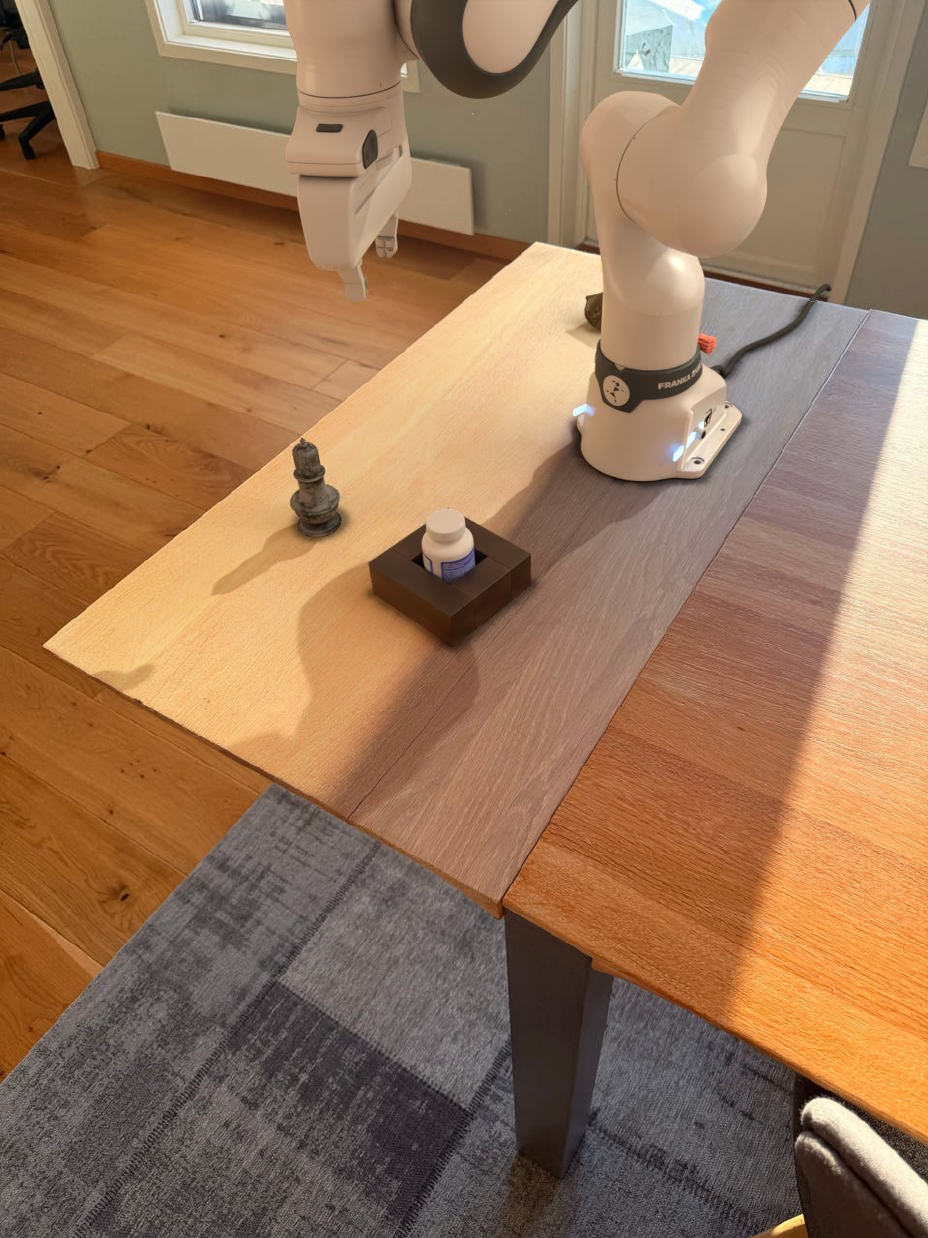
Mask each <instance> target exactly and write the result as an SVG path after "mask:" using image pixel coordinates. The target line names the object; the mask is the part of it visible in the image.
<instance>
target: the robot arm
mask: <svg viewBox="0 0 928 1238" xmlns="http://www.w3.org/2000/svg"><path fill="white" fill-rule="evenodd" d="M871 1H872V0H721V1H720V2H719V4H718V6H716V8H715V9H714V11H713V12H712V14H711V15H710V17H709V19H708V21H707V23H706V26H705V30H704V47H705V48H704V49H705V51H704V52H705V53H704V56H703V60H702V63H701V66H700V69H699V71H698V74H697V76H696V79H695V82H694V83H693V85H692V86H691V87H692V88H691V89H690V92H689V93H688V95H687V97H686V99H685V100H684V102H682V104H681V105H679V104H677V102H674V101H672V100H671V99H669V98H667V97H666V96H663V95H662V94H659V93H655V92H646V91H638V90H623V91H618V92H615V93H613V94H611V95H608V96H606V97H605V98H604V99H602V100H601V101H600V102H599V103H598V104H597V105H596V106H595V107H594V108H593V109H592V111H591V113H589V115H588V117H587V119H586V120H585V123H584V125H583V128H582V130H581V134H580V139H579V155H580V161H581V165H582V167H583V170H584V172H585V175H586V179H587V181H588V185H589V188H590V193H591V199H592V206H593V212H594V220H595V227H596V234H597V240H598V248H599V255H600V263H601V271H602V292H603V303H602V323H601V329H600V338H599V340H598V341H597V344H596V349H595V353H594V362H593V363H594V371H593V372H591V374H590V375H589V378H588V385H587V392H586V398H585V404H583V405H580V406H578V407H576V408H574V409H573V410H572V411H573V413H572V415H573V416H574V417H576V416H578V417H577V421H576V428H577V429H578V431H579V433H580V435H581V439H580V450H581V451H580V452H581V454H582V456H583V458H584V459H585V460H586V462H587V463H588V464H589V465H590V466H592V467H593V468H594V469H596V470H597V471H599V472H601V473H603V474H605V475H607V476H610V477H614V478H616V479H620V480H621V479H622V480H626V481H634V482H652V481H653V482H654V481H659V480H666V479H672V478H674V479H675V478H676V479H678V478H679V479H699V478H701V477H702V476H703V475H704V474H705V472H706V471H707V470H708V469H709V467H710V465H711V464H712V463H713V462H714V460H715V459H716V458H717V456H718V454H719V453H720V452H721V451H722V449H723V448H724V446H725V445H726V443H727V442H728V441H729V439H730V438H731V437H732V435H733V434H734V432H736V430H737V428H738V427H739V426H740V424H741V422H742V418H743V417H742V416H743V414H742V412H741V411H740V410H739V409H738V408H737V407H736V406H735V405H734V404H732V403H731V402H730V401H728V400H727V393H728V386H727V383H726V380H725V379H724V377H727V376H729V375H730V373H731V372H732V371H733V369H734V368H735V366H736V365H737V363H738V362H739V360H740V359H741V358H742V357H743V356H744V355H746V354H747V353H749V352H751V351H753V350H755V349H758V348H760V347H763V346H765V345H767V344H770V343H772V342H774V341H776V340H778V339H779V338H781V337H783V336H785V335H786V334H788V333H790V332H791V331H792V330H794V329H795V328H797V327H799V325H800V324H801V323H802V322H803V321H804V320H805V319H806V318H807V316H808V314H809V313H810V310H811V308H812V306H813V305H814V303H815V302H817V300H818V299H819V297H820V296H821V295H822V294H823V293H824V292H825V291H826V292H832V290H833V289H832V286H831V284H829V283H823V284H822V285H821V286H820V287H818V288H817V290H815V292H814V293H813V294H812V296H811V297H810V298H809V299H808V300H810V301H808V300H807V301H806V303H805V305H804V306H803V309H802V310H801V313H800V314H799V315H798V317H797V318H796V319H794V320H793V321H792V322H790V323H789V324H788V325H786V326H785V327H783V328H781V329H779V330H778V331H776V332H774V333H772V334H770V335H768V336H765V337H764V338H761V339H759V340H756V341H754V342H751V343H749V344H746V345H745V346H743V347H742V348H741V349H739V350H737V352H736V353H734V355H733V356H732V357H731V359H730V360H729V362H728V364H727V365H726V367H724V366H723V365H721V364H717V365H713V366H711V367H709V366H708V365H706V364H704V363H703V361H702V353H701V352H703V353H704V354H706V355H711V354H712V353H713V352H714V350H715V349H716V347H717V341H718V340H717V338H716V337H715V336H711V335H707V334H705V333H700V328H701V322H702V315H703V307H704V301H705V295H706V280H705V274H704V270H703V268H702V265H701V263H700V260H699V258H700V259H714V258H718V257H721V256H724V255H726V254H728V253H730V252H731V251H733V250H734V249H736V248H737V247H739V246H740V245H741V244H742V243H744V242H745V241H746V239H747V238H748V237H749V236H750V235H751V234H752V232H753V231H754V229H755V228H756V226H757V224H758V223H759V221H760V219H761V217H762V215H763V212H764V209H765V206H766V203H767V202H766V201H767V196H768V181H767V173H768V171H767V170H768V164H769V160H770V156H771V153H772V150H773V147H774V145H775V142H776V141H777V140H776V139H777V137H778V136H779V135H778V134H779V132H780V130H781V128H782V127H783V124H784V122H785V120H786V118H787V117H788V114H789V112H790V110H791V109H792V107H793V105H794V104H795V102H796V100H797V98H798V97H799V95H800V94H801V93H802V91H803V90H804V88H805V87H806V86H807V85H808V83H809V82H810V80H811V79H812V78H813V77H814V75H815V74H816V73H817V72H818V70H819V69H820V67H821V66H822V65H823V64H824V62H825V61H826V60H827V58H828V57H829V55H830V54H831V53H832V52H833V50H835V48H836V47H837V46H838V44H839V43H840V41H842V39H843V37H845V35H846V34H847V33H848V31H849V30H850V29H851V28H852V26H853V25H854V23H855V22H856V21H857V20H858V19H859V17H860V16H861V15H862V14H863V12H864V11H865V10H866V8H867V7H868V6H869V4H870V3H871ZM577 2H579V0H282V3H283V10H284V17H285V24H286V28H287V31H288V33H289V36H290V38H291V40H292V43H293V46H294V50H295V57H296V74H295V85H296V92H297V97H298V105H299V106H298V107H297V109H296V118H295V122H294V127H293V129H292V132H291V135H290V137H289V139H288V142H287V144H286V147H285V161H286V166H287V170H288V172H289V174H292V175H297V176H298V178H297V181H296V198H297V206H298V212H299V216H300V217H299V218H300V221H301V227H302V231H303V236H304V241H305V244H306V245H305V246H306V249H307V253H308V256H309V259H310V260H311V262H312V263H313V265H314V267H315V268H316V269H317V270H320V271H327V272H336V273H337V274H338V276H339V278H340V279H341V281H342V283H343V285H344V292H345V293H344V294H345V297H346V299H347V300H348V301H350V302H356V303H357V302H358V303H359V302H360V303H361V302H363V301H364V300H365V299H366V297H367V296H368V295H369V292H370V288H369V281H368V276H364V274H363V271H362V268H361V266H362V265H363V256H364V255H365V254H366V252H367V251H368V249H370V246H371V245H372V244H373V242H374V243H375V249H376V251H375V253H376V255H377V256H378V257H379V258H387V259H391V258H393V256H395V254H396V252H397V251H398V239H397V237H398V236H397V234H398V233H397V232H398V225H399V215H400V210H399V207H400V205H401V204H402V203H403V201H404V199H405V198H406V197H407V196H408V194H409V192H411V190H412V184H413V166H412V159H411V158H412V157H411V150H410V144H409V137H408V130H407V125H406V116H405V103H404V93H403V92H404V91H403V82H402V68H403V67H404V65H405V64H406V63H408V62H412V61H413V62H414V61H419V60H421V62H423V64H424V65H425V66H426V67H427V68H428V70H429V71H430V72H431V74H432V75H433V76H434V78H435V79H436V80H437V81H438V83H440V84H441V85H442V86H443V87H445V88H446V89H447V90H449V91H451V93H453V94H455V95H458V96H461V97H463V98H467V99H473V100H484V99H490V98H495V97H499V96H501V95H503V94H506V93H507V92H509V91H510V90H512V89H514V88H515V87H516V86H518V85H520V83H521V82H523V81H524V80H525V79H526V78H527V76H529V74H530V73H531V72H532V71H533V69H534V68H535V67H536V66H537V64H538V62H539V61H540V59H541V58H542V56H543V54H544V53H545V51H546V49H547V47H548V45H549V43H550V42H551V40H552V38H553V37H554V35H555V34H556V31H557V30H558V28H559V26H560V25H561V23H562V22H563V21H564V19H565V17H566V16H567V15H568V14H569V12H570V11H571V9H572V8H573V7H574V6H575V5H576V4H577ZM811 301H812V302H811ZM813 301H815V302H813Z"/></svg>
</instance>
